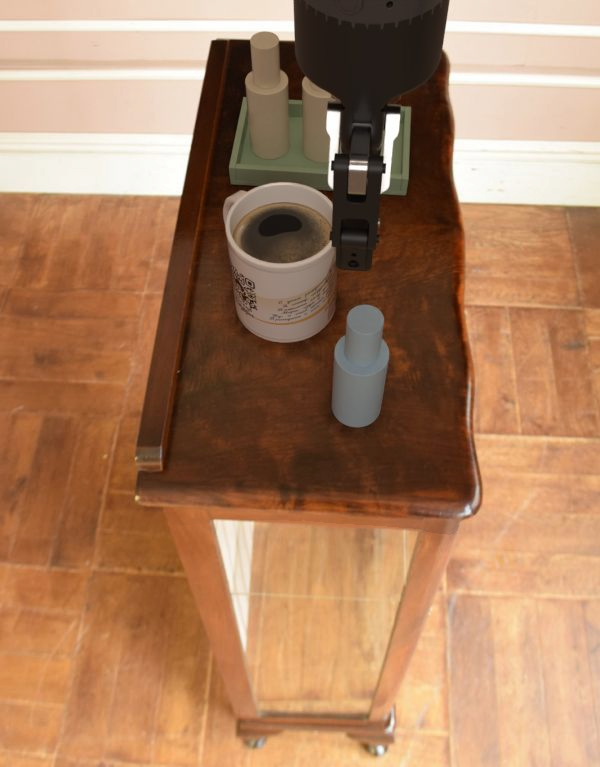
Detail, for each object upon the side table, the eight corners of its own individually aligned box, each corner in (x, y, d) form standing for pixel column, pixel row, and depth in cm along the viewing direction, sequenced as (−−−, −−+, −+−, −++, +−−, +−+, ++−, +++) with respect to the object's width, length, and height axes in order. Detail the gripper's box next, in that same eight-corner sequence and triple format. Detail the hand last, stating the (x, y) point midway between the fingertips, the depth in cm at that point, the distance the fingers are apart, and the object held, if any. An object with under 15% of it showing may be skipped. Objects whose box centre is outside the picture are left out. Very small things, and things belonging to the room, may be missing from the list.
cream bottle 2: (343, 136, 87) (348, 30, 75) (340, 164, 84) (345, 58, 73) (304, 134, 87) (303, 28, 76) (300, 161, 85) (299, 56, 73)
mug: (227, 345, 73) (215, 268, 63) (228, 248, 79) (217, 165, 69) (339, 341, 73) (344, 264, 63) (331, 245, 79) (334, 161, 70)
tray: (408, 123, 88) (411, 106, 86) (406, 195, 83) (408, 179, 80) (244, 114, 90) (243, 96, 88) (230, 184, 84) (228, 167, 82)
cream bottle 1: (291, 133, 87) (289, 27, 76) (287, 160, 85) (284, 55, 74) (252, 131, 87) (245, 25, 76) (247, 158, 85) (238, 53, 74)
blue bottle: (381, 386, 70) (396, 298, 59) (379, 429, 68) (394, 345, 57) (333, 383, 70) (338, 293, 59) (329, 425, 68) (334, 340, 57)
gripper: (453, 69, 32) (413, 307, 46) (453, -107, 40) (419, 143, 53) (274, 61, 33) (288, 299, 47) (307, -112, 40) (310, 137, 54)
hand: (358, 215), depth 50 cm, fingers open, 8 cm apart
